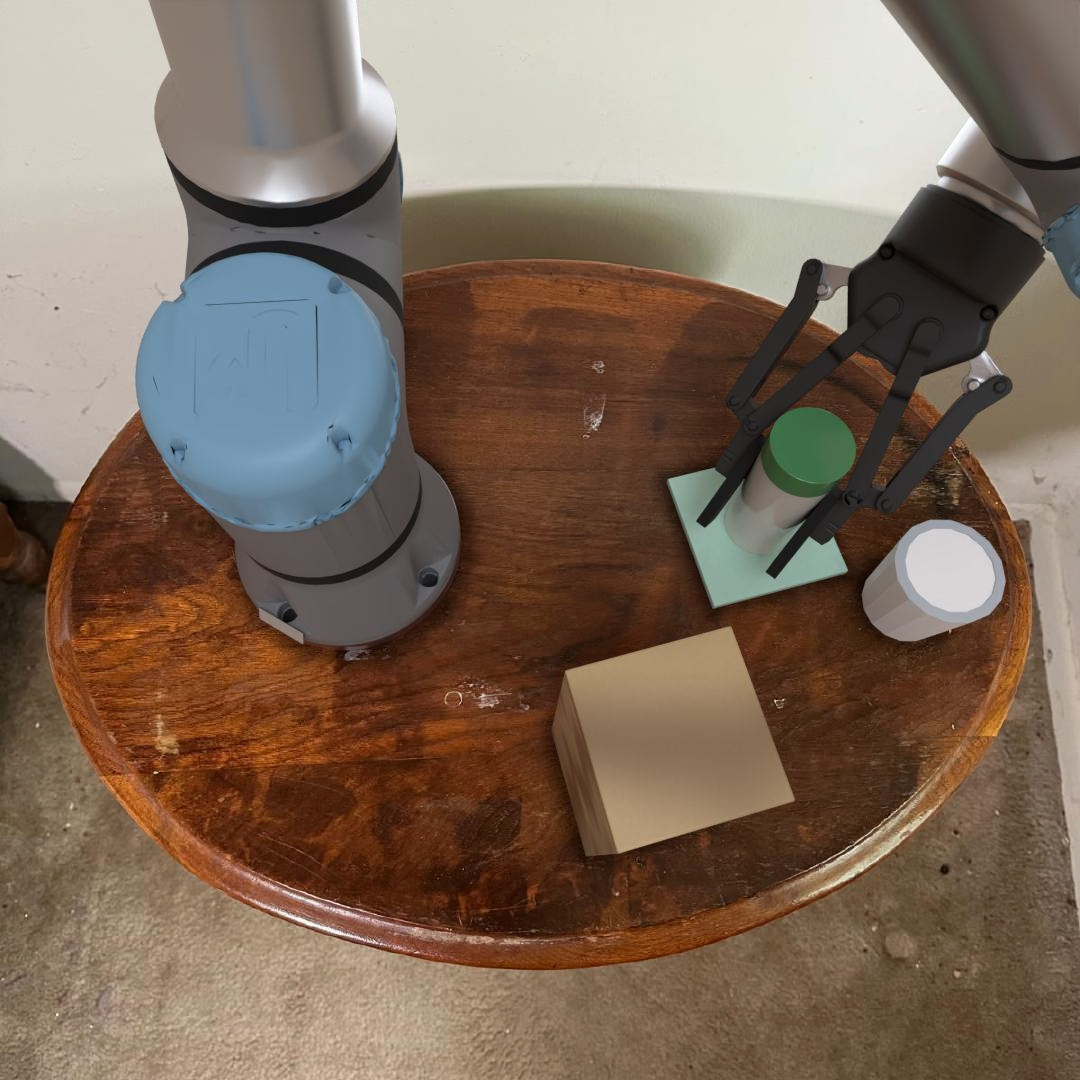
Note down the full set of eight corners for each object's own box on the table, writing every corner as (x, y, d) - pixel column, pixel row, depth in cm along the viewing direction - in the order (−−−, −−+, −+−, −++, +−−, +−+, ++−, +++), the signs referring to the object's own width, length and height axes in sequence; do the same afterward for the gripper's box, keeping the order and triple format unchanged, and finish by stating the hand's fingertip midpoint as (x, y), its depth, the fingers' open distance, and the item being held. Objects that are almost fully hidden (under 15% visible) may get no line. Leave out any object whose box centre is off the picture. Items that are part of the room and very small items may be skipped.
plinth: (551, 729, 54) (564, 670, 37) (666, 697, 55) (731, 625, 38) (585, 856, 51) (617, 853, 34) (707, 820, 52) (796, 800, 35)
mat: (666, 482, 60) (667, 478, 60) (792, 451, 62) (795, 447, 61) (712, 609, 57) (714, 606, 56) (845, 573, 58) (848, 570, 58)
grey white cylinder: (950, 659, 56) (1007, 633, 50) (849, 639, 56) (892, 610, 50) (952, 566, 58) (1006, 529, 52) (855, 547, 59) (897, 508, 52)
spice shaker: (713, 500, 59) (757, 417, 48) (777, 484, 60) (836, 398, 49) (737, 564, 58) (788, 492, 46) (803, 546, 58) (870, 472, 47)
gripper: (1131, 302, 45) (860, 609, 56) (854, 142, 49) (650, 457, 60) (1161, 302, 39) (848, 649, 49) (838, 117, 43) (612, 476, 53)
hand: (740, 544), depth 54 cm, fingers closed on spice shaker, 5 cm apart
